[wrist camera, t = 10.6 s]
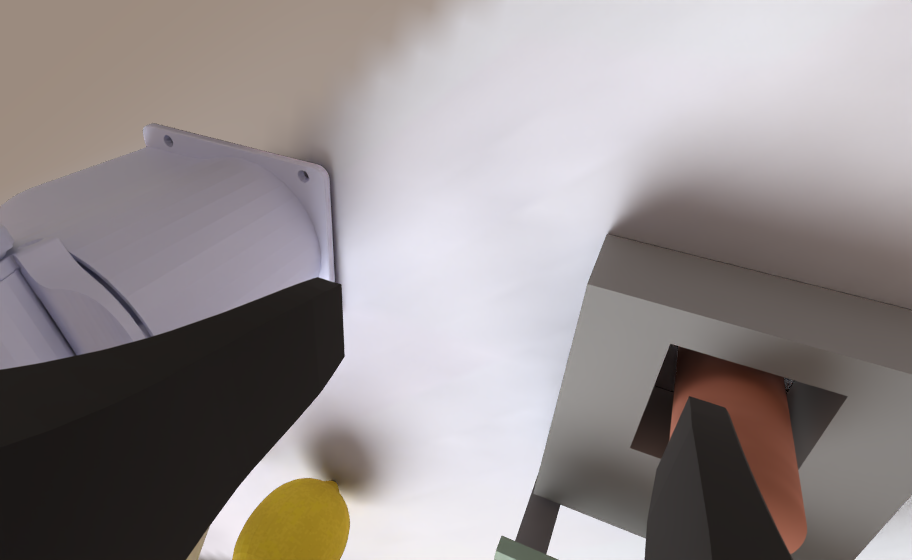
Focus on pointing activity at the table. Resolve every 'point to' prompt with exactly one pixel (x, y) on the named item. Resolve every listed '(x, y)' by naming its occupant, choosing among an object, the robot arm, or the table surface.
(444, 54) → the table surface
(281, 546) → the lemon
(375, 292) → the table surface
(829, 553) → the socket block
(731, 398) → the peg
